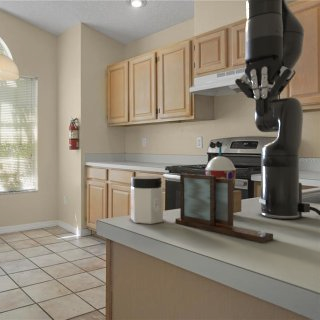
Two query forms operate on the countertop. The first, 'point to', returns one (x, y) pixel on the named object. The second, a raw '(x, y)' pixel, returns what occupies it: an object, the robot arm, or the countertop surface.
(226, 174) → the smoothie
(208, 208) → the window frame
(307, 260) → the countertop surface
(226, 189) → the sash
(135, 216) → the jar
